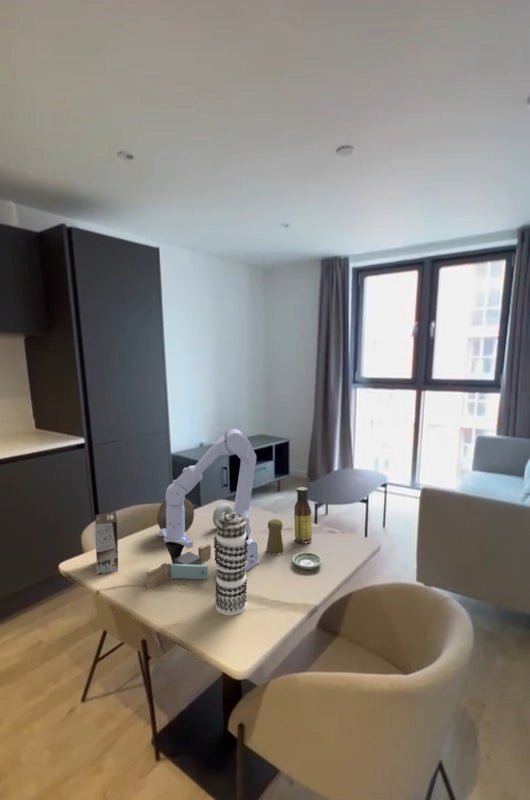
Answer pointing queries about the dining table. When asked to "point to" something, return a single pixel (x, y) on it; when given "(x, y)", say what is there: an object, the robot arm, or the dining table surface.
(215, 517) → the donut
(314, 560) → the saucer
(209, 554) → the tan wooden flat bar
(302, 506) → the sauce bottle
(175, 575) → the light blue bar
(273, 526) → the cork
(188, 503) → the cantaloupe
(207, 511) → the dining table surface
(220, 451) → the robot arm
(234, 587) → the decorative candle
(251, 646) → the dining table surface
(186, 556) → the doorstop
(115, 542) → the coffee box
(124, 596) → the dining table surface
